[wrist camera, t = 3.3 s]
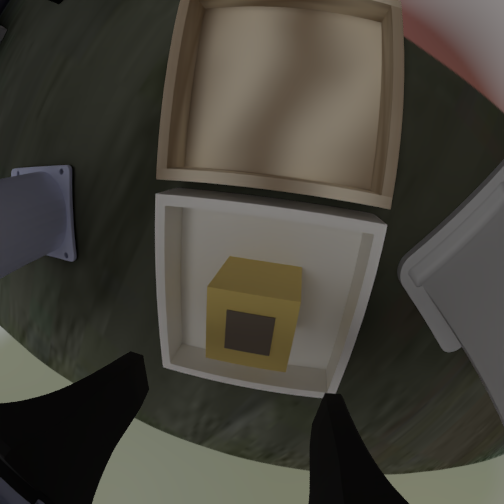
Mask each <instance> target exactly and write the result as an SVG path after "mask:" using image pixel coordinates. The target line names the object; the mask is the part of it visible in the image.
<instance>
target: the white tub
mask: <svg viewBox="0 0 504 504" xmlns="http://www.w3.org/2000/svg"><path fill="white" fill-rule="evenodd" d="M386 229H387V224H386V223H384V222H383V221H382V220H381V219H380V218H378V217H377V216H376V215H375V214H373V213H368V212H362V211H356V210H351V209H345V208H339V207H333V206H327V205H320V204H314V203H307V202H301V201H294V200H287V199H279V198H272V197H264V196H256V195H248V194H239V193H230V192H221V191H211V190H201V189H190V188H174V189H171V190H167V191H163V192H160V193H156V199H155V263H156V289H157V306H158V320H159V332H160V343H161V353H162V362H163V367H164V368H168V369H171V370H175V371H178V372H182V373H186V374H190V375H194V376H197V377H202V378H206V379H210V380H214V381H219V382H223V383H228V384H233V385H237V386H242V387H248V388H253V389H259V390H265V391H271V392H277V393H284V394H291V395H299V396H307V397H316V398H323V396H324V394H325V393H333V394H335V393H336V391H337V389H338V386H339V384H340V381H341V379H342V376H343V374H344V371H345V369H346V366H347V363H348V361H349V358H350V355H351V352H352V350H353V347H354V344H355V341H356V338H357V335H358V332H359V329H360V326H361V323H362V320H363V317H364V314H365V311H366V307H367V304H368V301H369V297H370V294H371V290H372V287H373V283H374V279H375V276H376V272H377V268H378V264H379V260H380V256H381V252H382V247H383V243H384V238H385V234H386ZM229 256H233V257H240V258H246V259H253V260H259V261H266V262H272V263H279V264H285V265H292V266H299V267H302V288H301V305H300V310H299V315H298V320H297V324H296V329H295V334H294V338H293V343H292V347H291V352H290V356H289V360H288V365H287V369H286V372H279V371H273V370H266V369H261V368H255V367H249V366H244V365H239V364H234V363H229V362H224V361H219V360H215V359H210V358H206V307H207V286H208V285H209V283H210V282H211V281H212V279H213V278H214V277H215V275H216V274H217V272H218V271H219V270H220V268H221V267H222V266H223V264H224V263H225V262H226V260H227V259H228V257H229Z"/></svg>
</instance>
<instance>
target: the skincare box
mask: <svg viewBox="0 0 504 504" xmlns="http://www.w3.org/2000/svg"><path fill="white" fill-rule="evenodd" d="M6 31H7V29H6V28H4V27H3V26H1V25H0V43H1V41H2V39H3V37H4V35H5V33H6Z"/></svg>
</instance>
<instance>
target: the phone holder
mask: <svg viewBox="0 0 504 504" xmlns="http://www.w3.org/2000/svg"><path fill="white" fill-rule="evenodd" d="M397 275H398V279H399V281H400V283H401V284H402V286H403V287H404V289H405V290H406V292H407V293H408V295H409V296H410V298H411V299H412V301H413V302H414V304H415V305H416V307H417V308H418V310H419V312H420V313H421V315H422V316H423V318H424V320H425V321H426V323H427V324H428V326H429V328H430V329H431V331H432V333H433V334H434V336H435V338H436V339H437V341H438V343H439V345H440V346H441V348H442V349H443V350H444V351H445V352H453V351H456V350H458V349H459V348H461V347H462V348H463V349H464V351H465V353H466V354H467V356H468V358H469V360H470V361H471V363H472V365H473V366H474V368H475V370H476V372H477V374H478V375H479V377H480V379H481V381H482V383H483V385H484V387H485V388H486V390H487V392H488V394H489V396H490V398H491V400H492V402H493V404H494V406H495V408H496V410H497V413H498V415H499V417H500V419H501V421H502V424H503V426H504V160H503V161H502V162H501V163H500V164H499V165H498V166H497V167H496V168H495V170H494V171H493V172H492V173H491V174H490V175H489V176H488V177H487V178H486V179H485V180H484V181H483V182H482V183H481V184H480V185H479V186H478V187H477V189H476V190H475V191H474V192H473V193H472V194H471V195H470V196H469V197H468V198H467V199H466V200H465V201H464V202H462V203H461V204H460V205H459V206H458V207H457V208H456V209H455V210H454V211H453V212H452V213H451V214H450V215H449V216H448V217H447V218H446V219H445V220H444V221H442V222H441V223H440V224H439V225H438V226H437V227H436V228H435V229H434V230H433V231H431V232H430V233H429V234H428V235H427V236H426V237H425V238H424V239H422V240H421V241H420V242H419V243H418V244H417V245H415V246H414V247H413V248H412V249H411V250H410V251H408V252H407V253H406V254H405V255H404V256H403V257H402V259H401V260H400V262H399V265H398V269H397Z"/></svg>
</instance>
